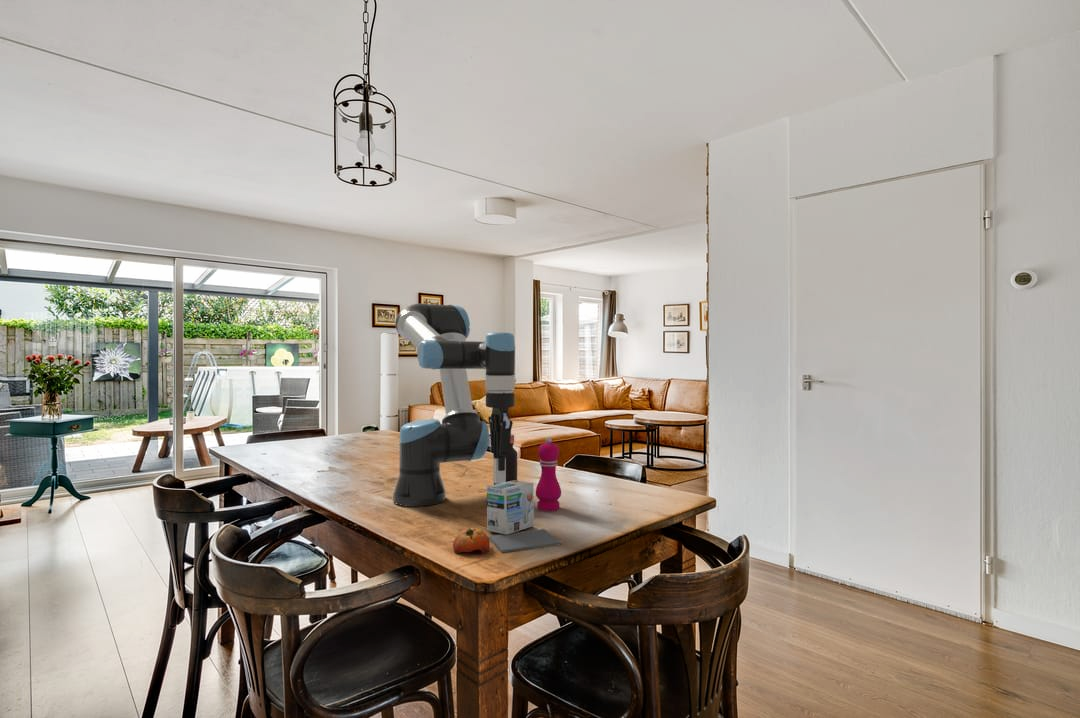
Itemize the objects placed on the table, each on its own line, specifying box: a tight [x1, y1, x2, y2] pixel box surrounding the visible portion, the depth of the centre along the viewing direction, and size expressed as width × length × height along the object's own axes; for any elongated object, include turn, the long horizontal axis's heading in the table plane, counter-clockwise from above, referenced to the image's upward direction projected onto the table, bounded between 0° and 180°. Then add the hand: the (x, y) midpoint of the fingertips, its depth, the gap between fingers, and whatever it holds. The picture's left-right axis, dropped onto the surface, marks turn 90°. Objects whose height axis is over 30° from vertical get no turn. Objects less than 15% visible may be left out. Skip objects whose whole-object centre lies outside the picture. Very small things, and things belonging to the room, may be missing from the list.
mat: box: [487, 528, 562, 553], centre depth 122 cm, size 10×14×1 cm
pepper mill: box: [535, 436, 562, 512], centre depth 149 cm, size 7×7×20 cm
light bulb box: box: [486, 480, 535, 535], centre depth 131 cm, size 11×7×11 cm, turn 142°
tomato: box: [452, 527, 491, 555], centre depth 117 cm, size 8×7×7 cm
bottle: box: [493, 433, 518, 485], centre depth 153 cm, size 7×7×20 cm
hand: (499, 482), depth 139 cm, fingers closed
